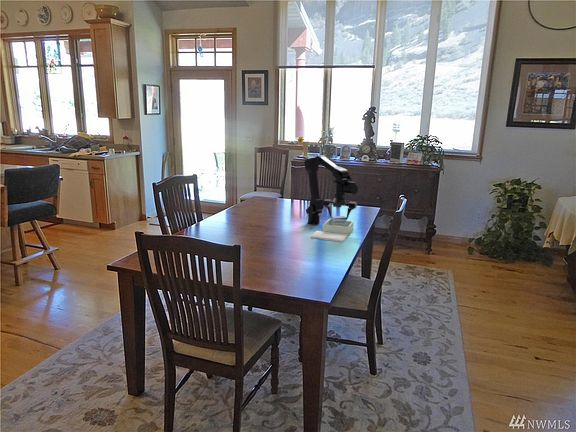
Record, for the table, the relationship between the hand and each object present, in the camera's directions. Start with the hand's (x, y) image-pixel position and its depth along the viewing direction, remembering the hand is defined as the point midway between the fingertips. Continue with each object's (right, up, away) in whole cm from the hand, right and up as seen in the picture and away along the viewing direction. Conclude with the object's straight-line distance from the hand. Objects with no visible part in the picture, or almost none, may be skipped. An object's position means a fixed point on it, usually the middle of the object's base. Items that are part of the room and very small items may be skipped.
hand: (338, 218), depth 233 cm
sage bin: (0, -7, +2) cm, 8 cm away
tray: (-6, -10, -9) cm, 15 cm away
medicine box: (0, -8, +2) cm, 8 cm away
